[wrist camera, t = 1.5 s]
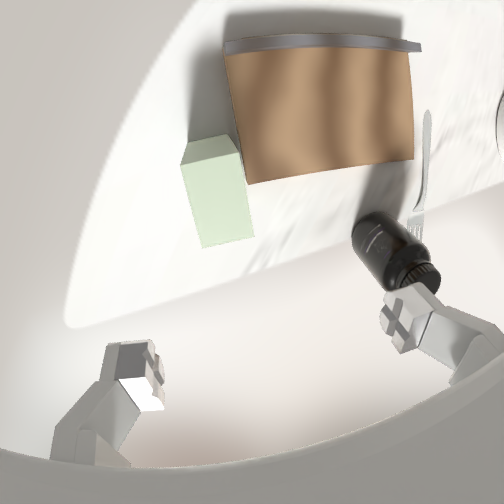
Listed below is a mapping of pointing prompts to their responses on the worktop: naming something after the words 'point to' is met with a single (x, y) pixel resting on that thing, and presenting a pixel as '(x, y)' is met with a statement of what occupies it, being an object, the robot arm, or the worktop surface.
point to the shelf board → (320, 102)
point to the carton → (216, 190)
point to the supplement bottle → (393, 253)
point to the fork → (419, 218)
